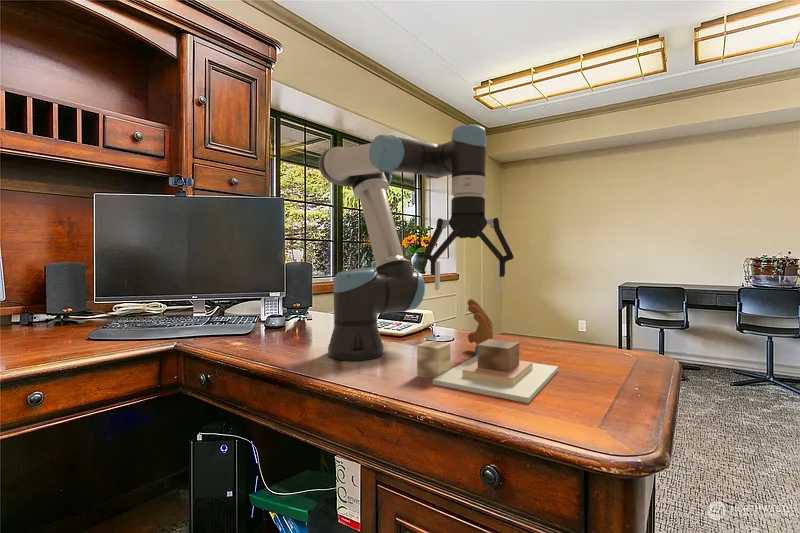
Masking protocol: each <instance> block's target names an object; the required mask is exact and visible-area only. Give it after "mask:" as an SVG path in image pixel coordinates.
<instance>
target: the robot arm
mask: <svg viewBox="0 0 800 533" xmlns="http://www.w3.org/2000/svg"><path fill="white" fill-rule="evenodd" d="M486 132H487V131H486V130H485V128H484V127H482V126H481V125H477V124H462V125H459V126H456V127H455V128H453V130H452V133H451V134H452V135H451V141H450V140H449V141H448V142H444V143H433V142H426V141H421V140H415V139H408V138H403V137H399V136H395V135H392V134H389V135H388V134H387V135H385V134H379V135H377V136H375V137H374V139H373V140H372V141H371V142H370V143H365V144H361V145H356V146H352V147H342V146H334V147H330V148H327V149H326V150H324V151H323V152H322V153H321V155H320V156H319V159H318V168H319V171H320V174H321V176H323V178H324V179H325V180H327V181H328V182H329V183H331V184H333V185H337V186H342V187H351V188H352V192H353V193H352V194H353V195H354V197H356V198H357V199H359V201H360V205H361V208H362V214H363V217H364V222H365V225H366V229H367V233H368V237H369V238H368V239H369V241H370V247H371V250H372V254H373V258H374V262H375V266H374V267H359V268H358V267H357V268H351V269H347V270H342V271H339V272H337V273H336V274H335V276H334V277H333V278H334V279H333V288H332V292H333V320H334V322H333V330H332V333H331V336H330V341H329V344H328V346H327V356H328V357H329V358H331V359H333V360H338V361H346V362H348V361H349V362H350V361H352V362H356V361H358V362H359V361H368V360H373V359H377V358H380V357H381V356H383V355H384V353H385V352H384V349H385V347H384V343H383V341H382V338H381V335H380V334H381V333H380V331H379V327H378V314H386V313H387V314H388V313H389V314H390V313H398V312H402V313H404V312H407V311H410V310H411V311H413V310H415V309H417V308H418V307H419V306H420V305H421V303H422V302H423V300H424V296H425V291H426V283H425V279H424V276H423V275H422V273H420V271H417V270H415V269H414V270H413V267H412V263H411V261H410V260H409V259H407V258H405V257H404V253H403V250H402V246H401V243H400V239H399V236H398V231H397V228H396V227H397V226H396V224H395V221H394V216H393V212H392V209H391V206H390V202H389V198H388V195H387V192H388V190H389V188H390V185H391V183H392V181H393V176H392V174H393V172H394V173H408V174H414V175H421V176H422V177H423V178H425V179H439V178H443V177H447V176H451V195H452V196H453V197H452V199H451V211H450V212H451V214H450V219H443V218H441V217H440V218H438V219H436V220H437V221H436V228H435V231H433V234H432V236H431V238H430V240H429V242H428V244H427V246H426V248H425V250H424V251H423V252H424V253H423V254H422V258H423V259H426V260H428V261H429V262H430V276H434V291H439V290H440V288H441V261H439V260H438V259H439V258H440V257H441V256H442V254H443V253H445V251H446V250H447V249H448V247H449V246H450V245H451V244H452V243H453V242H454V241H455V240H456V239H457V237H458V238H460V239H466V238H470V239H476V238H478V237H479V238H480V240H482V242H483V243H484V244H485V245H486V247H487V248H488V250H490V251H491V253H492V254H493V255H494V256H495V257H496V259H498V261H497V262H496V263H495V293H500V278H504V277H505V275H506V262H508V261H511V260H513V259H514V257H515V256H514V254H513V252H512V250H511V248H510V246H509V244H508V242H507V240H506V238H505V235H504V234H503V232H502V230H501V228H500V220H499V218H498V217H495V218H491V219H487V218H486V198H484V196H485V195H486V181H487V180H486V167H487V166H486V165H487V164H486V157H487V156H486V155H487V148H488V146H487V134H486ZM487 225H489V226H490V228H491V229H493V230H494V232H495V235H496V236H497V239H498V241H499V242H500V244H501V247H502V248H503V250H504V253H505V255H503V254H502V252H500V251H499V249H498V248H497V247H496V246H495V244H494V243H493V242H492V240H490V239H489V238H488V236H487V235H486V234H485V233H484V232H483V230H484V229H485V228H486V227H487ZM447 226H449V227H450V228H451V230H452V231H451V232H450V233H449V235H448V237H447V238H446V239H445V240H444V241H443V243H441V245H440V246H438V248H437V249H436V251H435V252H434V253H433V254H432V252H433V250H434V248H435V246H436V245H437V243H438V240H439V238H441V235H442V234H443V230H444V229H446V228H447Z"/></svg>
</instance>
